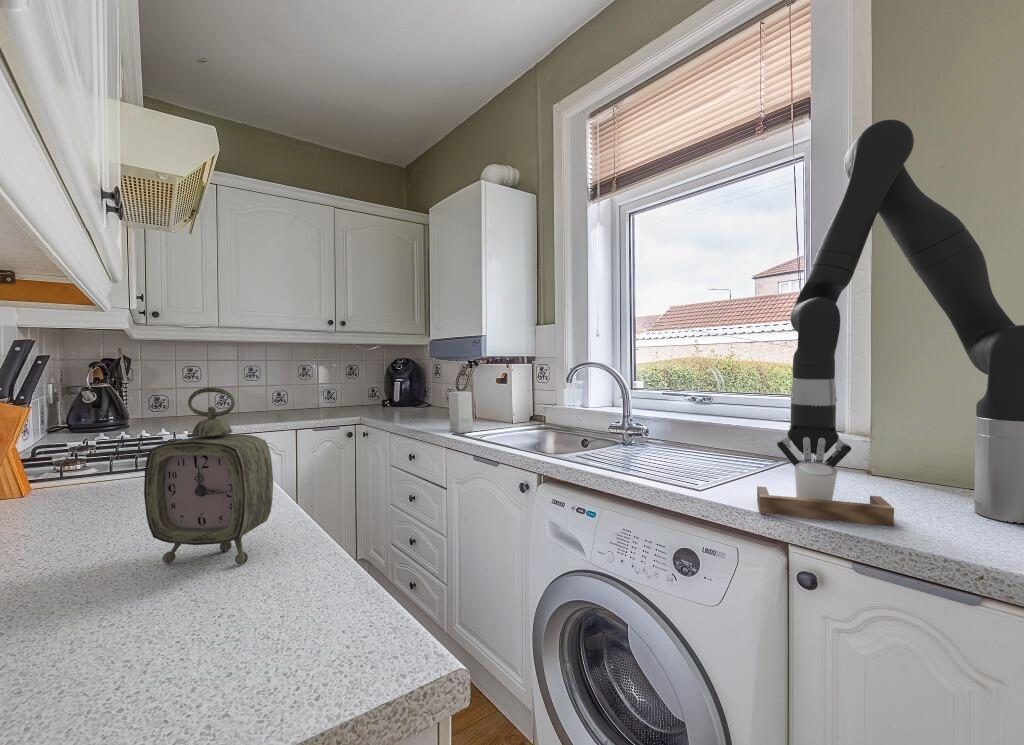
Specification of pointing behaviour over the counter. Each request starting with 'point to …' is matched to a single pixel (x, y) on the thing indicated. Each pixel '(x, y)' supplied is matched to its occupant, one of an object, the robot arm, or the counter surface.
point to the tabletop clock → (208, 485)
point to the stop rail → (827, 508)
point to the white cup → (815, 480)
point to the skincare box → (460, 411)
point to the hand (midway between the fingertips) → (811, 489)
